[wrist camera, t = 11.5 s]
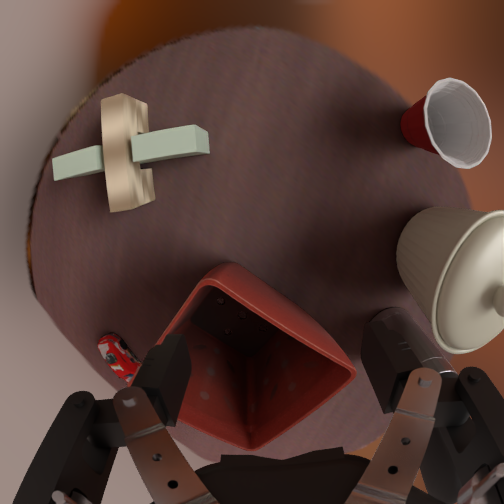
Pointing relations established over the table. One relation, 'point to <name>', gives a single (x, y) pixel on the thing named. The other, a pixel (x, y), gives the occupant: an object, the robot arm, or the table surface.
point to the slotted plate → (124, 153)
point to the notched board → (136, 151)
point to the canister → (456, 273)
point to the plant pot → (253, 360)
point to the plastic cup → (450, 124)
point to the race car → (118, 356)
